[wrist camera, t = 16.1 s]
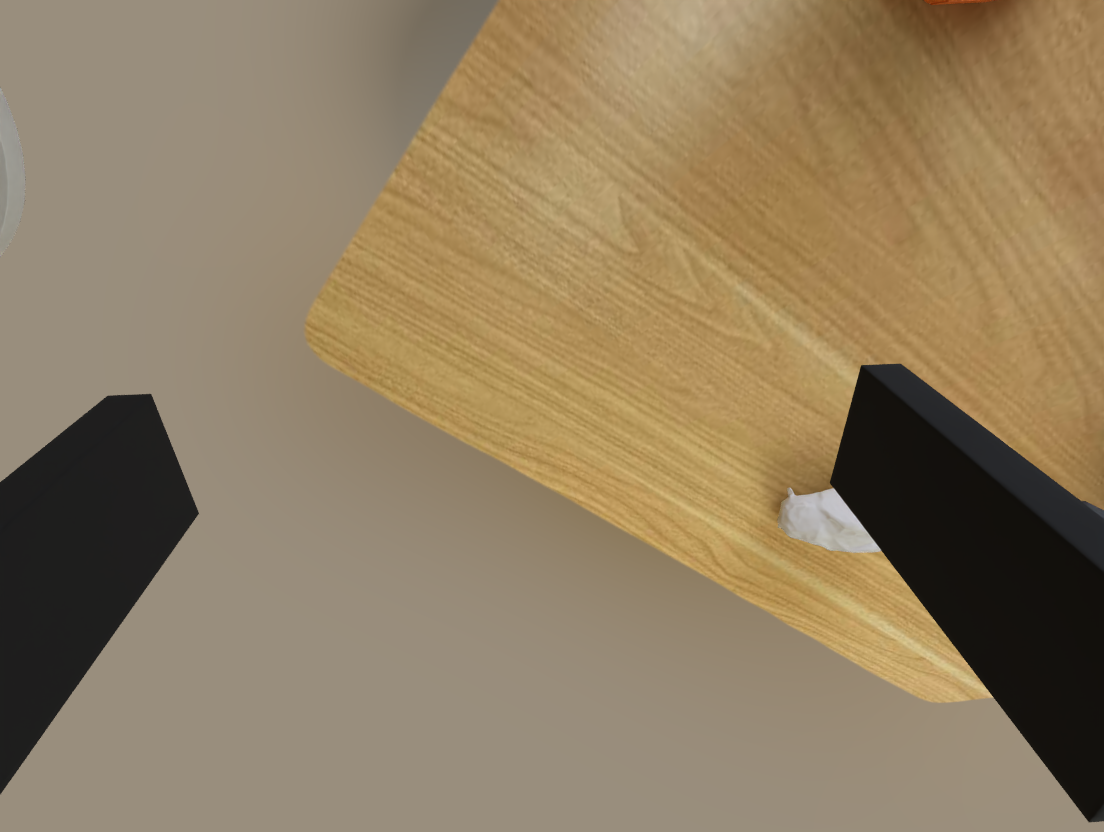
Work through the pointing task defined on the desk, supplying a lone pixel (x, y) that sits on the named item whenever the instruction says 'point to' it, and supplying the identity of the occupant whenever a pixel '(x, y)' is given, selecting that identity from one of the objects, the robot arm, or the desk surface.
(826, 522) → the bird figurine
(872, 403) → the robot arm
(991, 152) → the desk surface
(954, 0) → the ring
